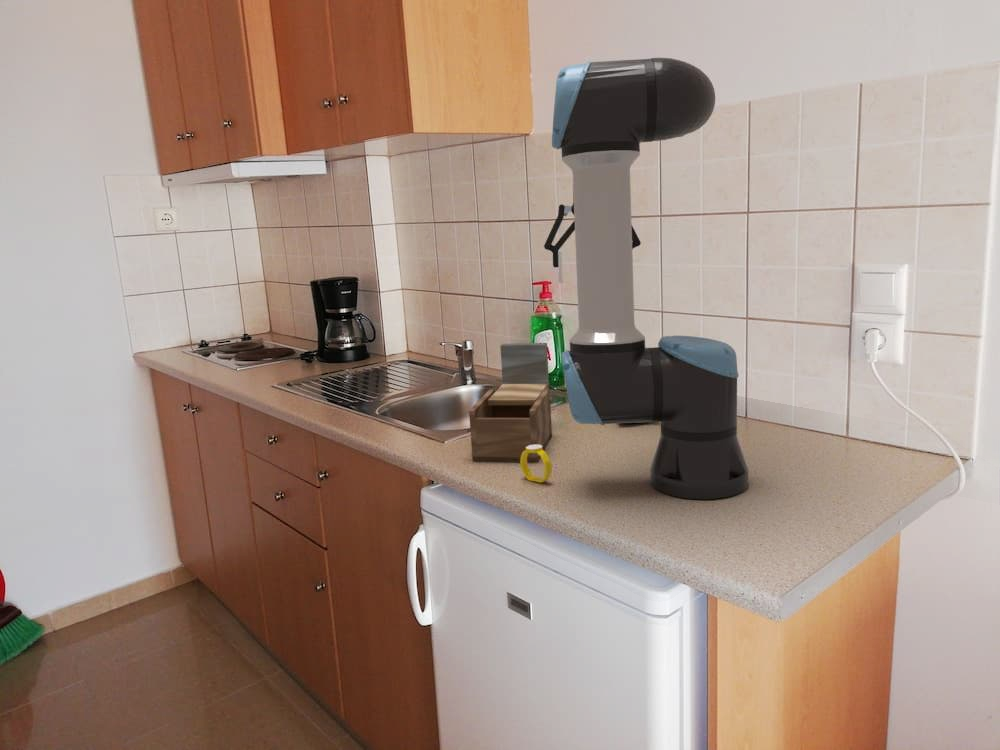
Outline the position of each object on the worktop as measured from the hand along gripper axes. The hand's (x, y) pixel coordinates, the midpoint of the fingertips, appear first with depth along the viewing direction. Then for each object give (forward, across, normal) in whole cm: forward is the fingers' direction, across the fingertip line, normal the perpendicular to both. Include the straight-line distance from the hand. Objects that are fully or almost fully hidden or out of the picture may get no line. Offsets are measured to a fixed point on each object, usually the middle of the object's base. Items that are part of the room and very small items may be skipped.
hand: (592, 282), depth 168 cm
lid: (+22, +15, +17) cm, 31 cm away
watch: (+33, +11, +42) cm, 54 cm away
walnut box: (+31, +16, +24) cm, 42 cm away
